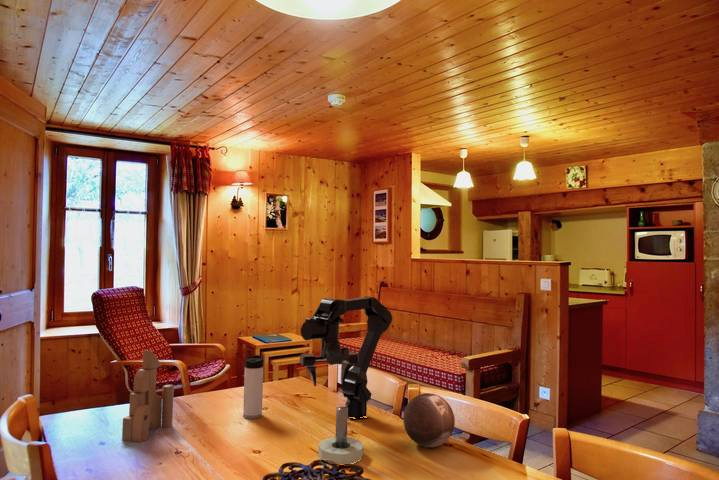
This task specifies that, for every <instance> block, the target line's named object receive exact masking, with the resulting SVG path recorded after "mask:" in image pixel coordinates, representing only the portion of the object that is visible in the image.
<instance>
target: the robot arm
mask: <svg viewBox="0 0 719 480" xmlns="http://www.w3.org/2000/svg"><path fill="white" fill-rule="evenodd" d="M359 310H363V311H364V314H365V315H366V317H367V320H366V325H367V331H366V335H365V336H364V339H363V342H362V344H361V346H360V349H359V352H358V354H357V353H355V352H353V351H350V349H349V348H348V347H341V343H340V341H339V340H340V339H339V338H340V337H339V336H340V324H341V323H342V324H343V323H345V319H343V318H342V317H341V316H343V315H345V314H346V313H348V312H352V311H359ZM392 321H393V315H392V312H391V311H390V310H389V309H388V308H387V307H386V306H385V305H383V304H382V303H381V302H380V301H379V300H378V299H377V298H376V297H374V296H366V295H365V296H363V297H361V296H360V297H355V298H354V297H353V298H347V299H346V298H345V299H335V298H328V297H324V298H322V299H321V300H320V302H319V305H318V307H317V308H316V310H315V312H314V314H313V315H312V317H308V318H307V317H306V318H305V321H304V322H303V323H302V325H301V327H300V335H301V337H302V339H303V340H304V341H313V340H314V341H315V340H319V339H320V352H319V356H318V355H314V354H313V353H302V354H300V356H299V363H300V364H301V365H302V366H303V367H305V368H307V370H308V372H309V374H310V377H311V381H312V384H313V386H314V387H316V386H317V373H316V371H317V366H316V365H315V364H316V363H327V364H328V365H330V366H334V365H339V366H340V365H341V369H340V370H341V371H340V387H341V388H340V390H341V391H342V395H343V398H346V402H345V406H344V407H347V408H348V417H355V418H360V417H363V416H366V415H367V413H368V412H367V411H368V410H367V408H368V407H367V405H368V401H370V400H371V398H372V392H371V391H370V390H369V388H368V387H367V386H368V375H367V372H368V370H369V367H370V364H371V361H372V359H373V356H374V354H375V352H376V349H377V346H378V343H379V341H380V338H381V336H382V335H383V334H384V333H385V332H386V331H387V330H388V329H389V328H390V326H391V323H392ZM363 418H364V417H363ZM350 419H353V418H350ZM350 419H349V420H350Z"/></svg>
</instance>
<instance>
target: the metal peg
mask: <svg viewBox="0 0 719 480" xmlns="http://www.w3.org/2000/svg"><path fill="white" fill-rule="evenodd" d="M335 415H336V416H335V437H336V442H335V448H338V449H345V448H347V437H348V425H349V424H348V422H349V421H348V420H349V418H348V408H347V407H345V406H338V407H336V411H335Z"/></svg>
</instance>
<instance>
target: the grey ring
mask: <svg viewBox="0 0 719 480" xmlns="http://www.w3.org/2000/svg"><path fill="white" fill-rule="evenodd" d="M335 442H336V436H334V437H327V438H326V439H323V440H321V441H320V443H319V444H318V458H319V459H320V458H321V459H329V460H333V461H335V462H336V463H338V464H351V463H354V462H356V461H358V460H360V459H361V458H362V456H363V457H364V447H365V446H364V445H365V444H363V442H362V441H361V440H359V439H356V438H353V437H349V436H347V448H345V449H338V448H335ZM362 459H363V458H362Z"/></svg>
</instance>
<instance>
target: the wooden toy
mask: <svg viewBox="0 0 719 480" xmlns="http://www.w3.org/2000/svg"><path fill="white" fill-rule="evenodd" d="M142 351H143V352H142V368H140V369H138V370H137V371H136V373H135V374H134V377H133V392H131V393H130V394H129V406H128V407H129V410H128V411H129V413H128V415H127V416H125V417H122V430H121V431H122V435H121V440H122V441H126V442H127V441H128V442H136V443H142V442H144V441H146V440H147V439H149V433H150V432H149V431H150V430H155V429H158V428H159V427H161V428H166V429H168V428H171V427H173V421H174V420H173V419H174V418H173V417H174V416H173V415H174V414H173V413H174V394H175V393H174V392H175V391H174V388H175V386H174V385H173V384H165V385H163V386H162V396H160V395H158V394H157V390H156V389H157V369H158V368H160V367H161V366H162V363H161V362H160V361H159V359H158V357H156V355H155V354H154V353H153V352H152V350H151V349H143V350H142Z"/></svg>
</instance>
